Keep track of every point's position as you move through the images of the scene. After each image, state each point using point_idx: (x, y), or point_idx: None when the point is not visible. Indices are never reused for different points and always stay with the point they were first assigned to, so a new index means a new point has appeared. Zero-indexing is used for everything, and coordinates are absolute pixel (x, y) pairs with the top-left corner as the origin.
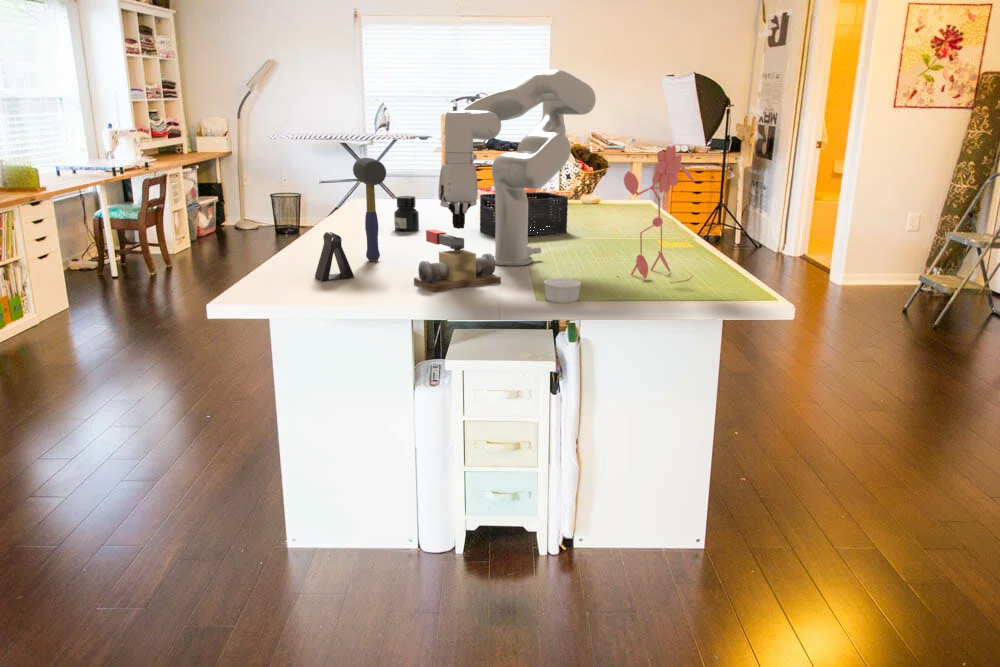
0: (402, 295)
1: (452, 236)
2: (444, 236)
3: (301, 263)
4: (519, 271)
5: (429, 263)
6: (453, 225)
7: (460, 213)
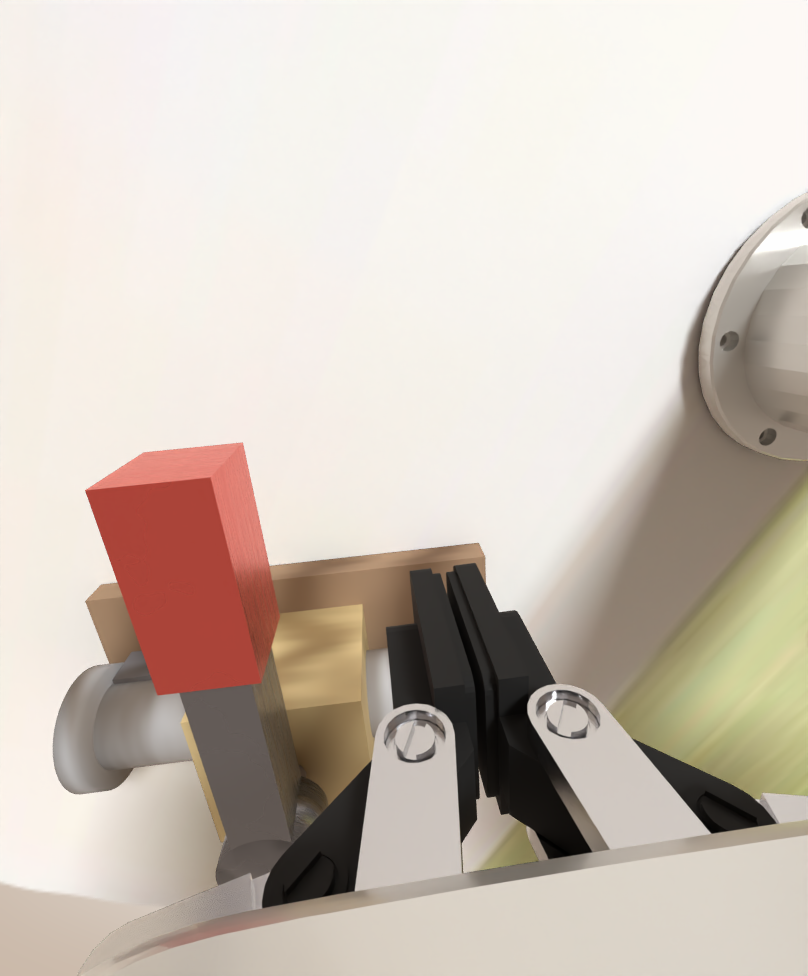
0: (13, 741)
1: (270, 798)
2: (207, 774)
3: None
4: (686, 556)
5: (98, 790)
6: (411, 581)
7: (501, 768)
